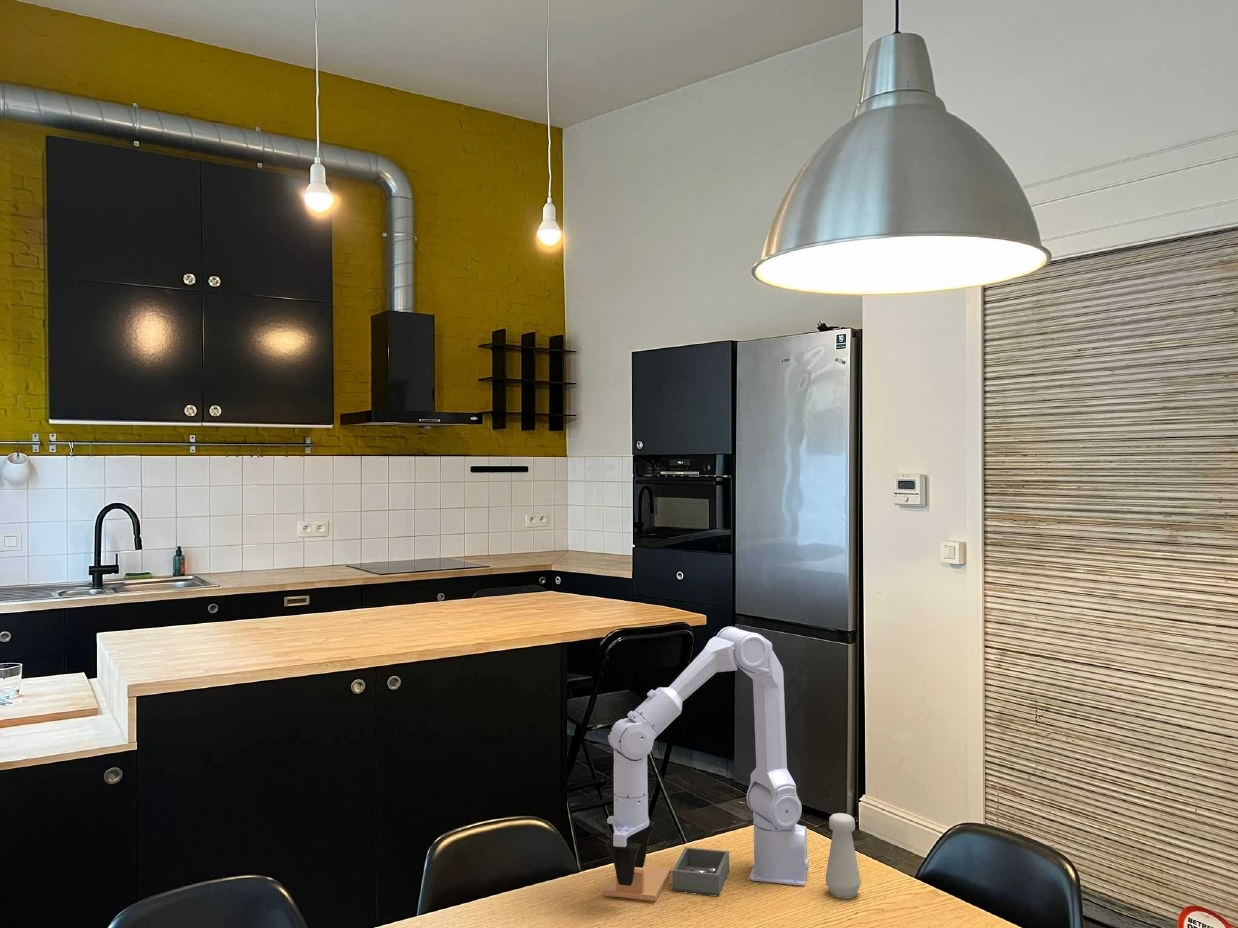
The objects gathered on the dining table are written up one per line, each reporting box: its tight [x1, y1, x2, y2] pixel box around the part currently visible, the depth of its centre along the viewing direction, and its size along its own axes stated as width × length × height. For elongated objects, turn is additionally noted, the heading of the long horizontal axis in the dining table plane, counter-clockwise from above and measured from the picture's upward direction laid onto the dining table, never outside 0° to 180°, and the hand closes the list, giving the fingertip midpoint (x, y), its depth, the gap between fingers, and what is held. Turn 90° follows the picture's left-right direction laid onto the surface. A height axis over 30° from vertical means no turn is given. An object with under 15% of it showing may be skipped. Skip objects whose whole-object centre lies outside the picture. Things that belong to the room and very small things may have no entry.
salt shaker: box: [825, 812, 862, 900], centre depth 156 cm, size 6×6×13 cm
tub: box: [671, 846, 730, 897], centre depth 161 cm, size 8×11×4 cm
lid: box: [602, 864, 672, 902], centre depth 159 cm, size 9×12×5 cm
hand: (631, 875), depth 155 cm, fingers open, 7 cm apart
